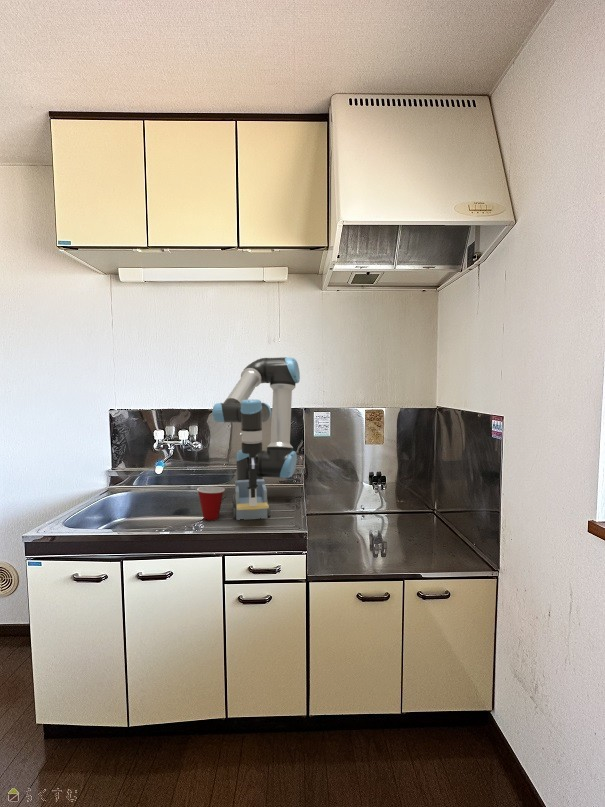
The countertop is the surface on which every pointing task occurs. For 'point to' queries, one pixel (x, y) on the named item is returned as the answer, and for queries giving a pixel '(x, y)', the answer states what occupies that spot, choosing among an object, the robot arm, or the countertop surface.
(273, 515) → the countertop surface
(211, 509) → the plastic cup
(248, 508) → the panel
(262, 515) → the box
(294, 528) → the countertop surface
